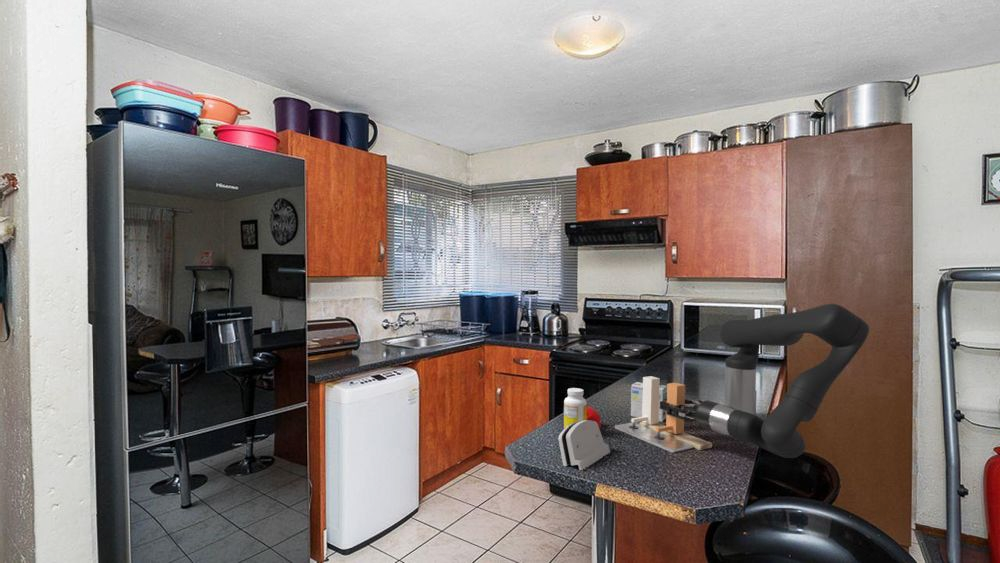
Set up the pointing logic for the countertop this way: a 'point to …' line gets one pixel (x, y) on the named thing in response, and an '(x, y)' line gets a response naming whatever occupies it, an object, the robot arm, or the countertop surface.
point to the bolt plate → (654, 437)
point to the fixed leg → (649, 401)
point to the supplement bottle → (574, 407)
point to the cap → (593, 416)
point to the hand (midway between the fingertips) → (670, 403)
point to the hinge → (582, 444)
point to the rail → (682, 437)
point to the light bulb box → (638, 396)
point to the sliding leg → (675, 397)
